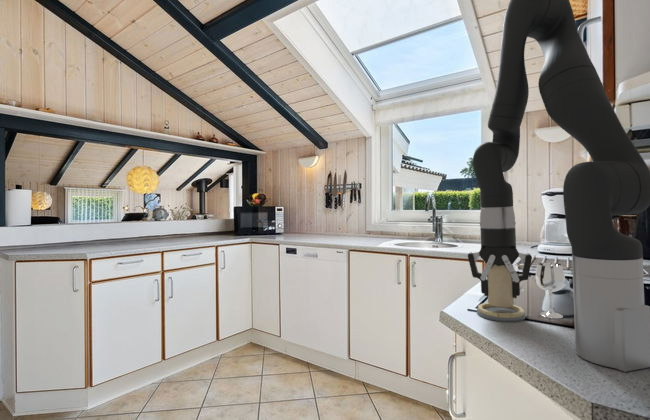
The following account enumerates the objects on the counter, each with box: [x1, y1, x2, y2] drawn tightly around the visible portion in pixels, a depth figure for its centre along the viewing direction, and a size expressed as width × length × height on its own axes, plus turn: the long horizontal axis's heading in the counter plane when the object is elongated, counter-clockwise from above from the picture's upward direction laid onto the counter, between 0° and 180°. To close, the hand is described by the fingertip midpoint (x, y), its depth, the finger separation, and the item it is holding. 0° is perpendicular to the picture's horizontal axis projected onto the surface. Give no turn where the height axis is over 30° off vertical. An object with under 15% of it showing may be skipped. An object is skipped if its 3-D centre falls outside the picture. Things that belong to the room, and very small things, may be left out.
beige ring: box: [476, 302, 526, 323], centre depth 82 cm, size 10×10×2 cm
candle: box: [486, 265, 515, 308], centre depth 82 cm, size 6×6×10 cm
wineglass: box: [535, 262, 566, 320], centre depth 80 cm, size 6×6×12 cm
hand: (500, 296), depth 82 cm, fingers closed on candle, 5 cm apart
